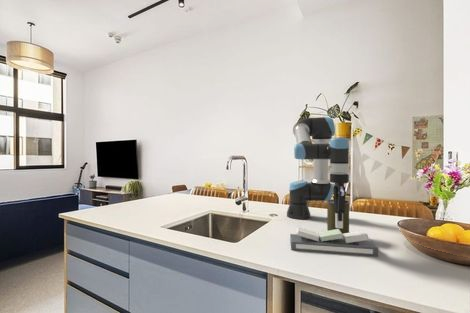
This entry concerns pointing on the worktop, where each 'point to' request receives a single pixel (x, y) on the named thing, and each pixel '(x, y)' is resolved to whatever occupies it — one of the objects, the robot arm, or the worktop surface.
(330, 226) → the canister
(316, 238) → the block
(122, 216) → the worktop surface
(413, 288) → the worktop surface
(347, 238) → the block
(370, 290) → the worktop surface
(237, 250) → the worktop surface
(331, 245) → the rocker switch panel
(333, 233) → the rocker mid
